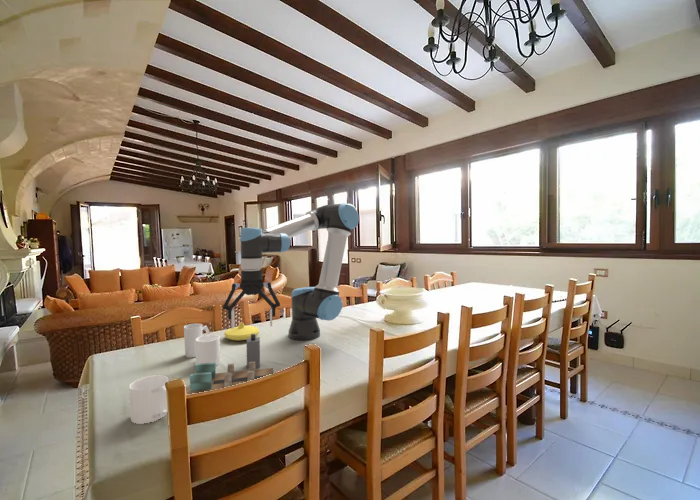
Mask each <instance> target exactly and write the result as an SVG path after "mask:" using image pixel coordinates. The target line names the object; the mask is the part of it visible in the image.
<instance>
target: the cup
mask: <svg viewBox="0 0 700 500" xmlns="http://www.w3.org/2000/svg"><path fill="white" fill-rule="evenodd" d="M220 338H221V337H220V335H218V334H210V335H207V334H206V335H202V336H200V337H198V338H196V357H195V360H196V361H195V363H196V364H202V363H213V362H215V365H216V367H217V366H218V365H220V363H221V348H220V347H221V343H220V341H221V340H220ZM196 364H195V365H196Z"/></svg>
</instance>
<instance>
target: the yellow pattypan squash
mask: <svg viewBox="0 0 700 500" xmlns="http://www.w3.org/2000/svg"><path fill="white" fill-rule="evenodd" d="M238 325H239V326H235V327H234V329H232V327H230V328H228V329H227V330H225V331H224V334H223V335H224V337H225V338H226V339H228V340H231V341H236V342H237V341H239V342H240V341H242V342H243V341H247V338H251V334H255V337H257V336H258V335H259V333H260V329H259V328H258V327H257V326H253V325H245V323H244V322H239V324H238Z"/></svg>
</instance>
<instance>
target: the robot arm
mask: <svg viewBox="0 0 700 500" xmlns="http://www.w3.org/2000/svg"><path fill="white" fill-rule="evenodd" d="M359 222H360V216H359V212H358V210H357V209H356V206H354V205H353V204H352V203H344V202H343V203H335V204H323V205H322V206H319V207H317V208H314V209H312V210H310V211H309V210H308V211H307V212H305V214H304V215H302V216H298V217H295V218H292V219H290V220H287V221H285V222H284V221H283V222H281V223H279V224H276V225H274V226H271V227H270V226H269V227H267V228H265V229H262V228H261V227H243V228H241V230H240V239H239V241H240V269H241V271H240V283H236V282H233V283H232V285H231V290H230V292H229V294H228V296H227V298H226V299H225V301H224V303H223V305H222V309H223V310H226V311H227V316H228V317H227V318H228V320H231V321H230V322H231V328H232V329H234V327H236V326H235V323H236V322H235V308H234V307H235V306H236V305H237V304H238V303H239V302H240V300H241V299H242V298H243V297H244V296H245V295H246V296H251V295H253V296H257V295H259V296H260V297H261V298H262V299H263V300H264V301H265V302H266V303H267V304H268V305H269V306H270V307H269V327H273V318H274V317H276V309H277V308H279V307H280V306H281V303H280V301H279V299H278V297H277V294H276V293H275V291H274V289H273V288H272V282H271V281H267V282H263V270H262V269H263V254H265V253H285V252H287V251H288V250H289V249H290V247H291V238H294V237H296V236H299V235H302V234H304V233H306V232H308V231H317V230H322V229H326V231H327V233H328V237H327V242H326V247H325V251H324V257H323V261H322V266H321V269H320V270H321V271H320V275H319V281H318V284H317V285H315V286H305V287H298V288H294V289H293V290H292V291H291V323H290V325H289V329H288V337H289V338H290V339H292V340H296V341H308V340H314V339H316V338H319V337H320V336H321V329H320V325H319V322H318V319H320V320H321V321H328V322H329V321H333V320H335V319H336V318H337V317H338V316H339V315H340V313H341V312H342V309H343V300H342V298H341V297H340V290H339V288H338V285H339V280H340V274H341V270H342V265H343V260H344V255H345V248H346V244H347V238H349V237H350V236H351V235H352V230H353V229H355V228H356V227H357V226H358V224H359ZM264 287H265V289H268V291H269V294H270V295H271V298H272V299H273V300H272V299H270V298H269V296H268V295H266V293H265V292H264V291H263V290H262V289H263V288H264ZM238 288H240V289H241V290H242V291H241V292H240V293H239V294H238V296H237V297H236V298H235V299H234V300H233V301H232V302H231V303H230V301H231V299H232V298H233V296H234V293H235V292H236V290H238ZM273 301H274V302H273ZM229 303H230V305H229Z"/></svg>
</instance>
